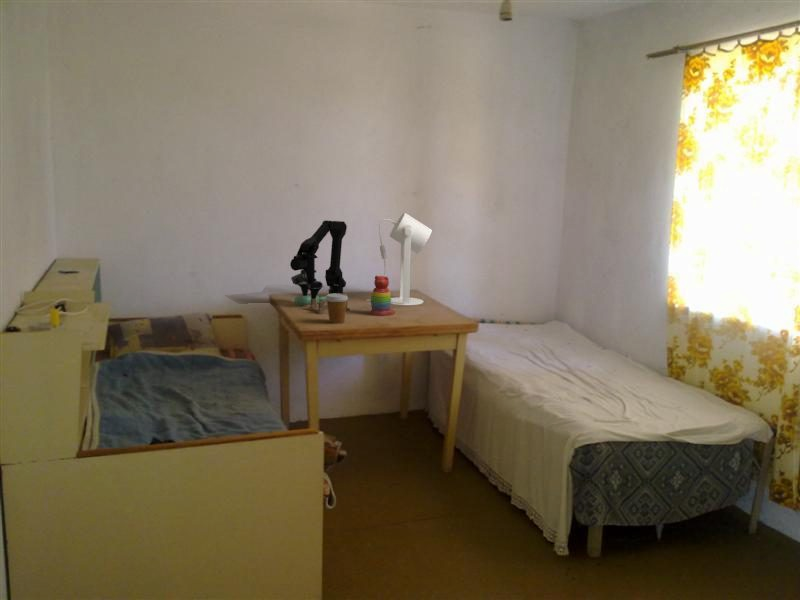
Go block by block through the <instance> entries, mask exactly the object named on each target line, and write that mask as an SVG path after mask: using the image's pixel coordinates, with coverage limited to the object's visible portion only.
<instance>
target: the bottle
mask: <svg viewBox="0 0 800 600" xmlns="http://www.w3.org/2000/svg"><path fill="white" fill-rule="evenodd" d="M326 297H327V295H325V296H319V295H318V294H317V296H316V298H315V299H316V303H318V302H324V301H325V302H327V299H326ZM307 304H310V305H311V294H310V295H309V294H308V295H307V296H303V295H300V296H299V295H298V296H295V297H294V305H295V306H296V305H297V306H298V305H300V306H308V305H307ZM297 306H296V307H297Z"/></svg>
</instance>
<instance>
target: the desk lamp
mask: <svg viewBox="0 0 800 600" xmlns="http://www.w3.org/2000/svg"><path fill="white" fill-rule="evenodd" d="M384 221H390V222H391V224H393V225H394V226H393V228H392V230H391V232H390V234H389V238H392V240H394V241H396V242H398V243H399V244H400V271H399V273H400V276H399V288H400V289H399V296H396V297H391V305H393V306H394V305H395V306H418V305H422V304H424V300H423V299H420V298H416V297H410V293H411V291H410V288H411V260H412V259H411V256H412V255H411V254H412V253H411V251H412V252H414V253H416V254H419V253H420V252H421V250H422V249H423V248H424V247H425V245H426V244H427V241H428V240H429V238H430V237H431V234H432V232H433V230H432V228H430V227H428V226H427V225H426V224H424V223H422V222H421V221H419V220H417V219H416V218H414V217H412V216H411V215H409V214H408V213H406V212H403V213H402V214H401V215H400V217H399V218H398V220H397V221H396V220H394V221H393V220H392V219H390V218H384V219H381V221H380V223H379V225H378V233H379V234H378V235H379V240H380V245H379V251H380V256H381V259H383V263H384V264H383V265H384V266H383V267H384V275H383V276H384V277H387V275H386V274H387V269H386V267H387V265H386V259H387V252H386V247H385V245H383V242H382V236H381V235H382V233H381V225H382V223H383V222H384ZM366 301H367V302H371V299H366Z"/></svg>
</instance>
